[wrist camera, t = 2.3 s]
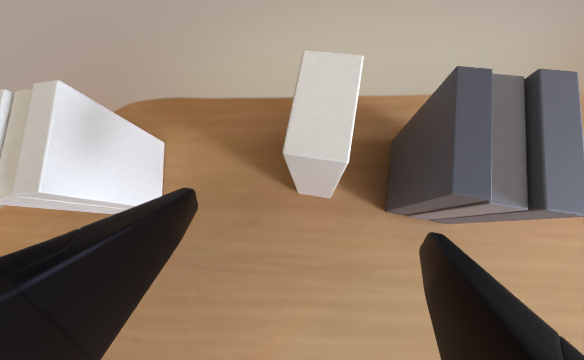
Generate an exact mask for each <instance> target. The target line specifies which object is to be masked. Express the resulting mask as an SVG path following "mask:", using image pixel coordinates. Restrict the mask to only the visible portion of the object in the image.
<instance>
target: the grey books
mask: <svg viewBox="0 0 584 360" xmlns="http://www.w3.org/2000/svg"><path fill="white" fill-rule="evenodd" d="M385 212H389V213H395V214H401V215H406V216H407V217H411V218H417V219H423V220H429V221H434V222H440V223H446V224H457V223H476V222H495V221H514V220H533V219H552V218H571V217H584V141H583V129H582V117H581V106H580V94H579V82H578V73H577V72H572V71H559V70H547V69H538V70H537V71H535V72H534V73H533V74H531V75H530V76H528V77H527V78H526V79H524V77H522V76H512V75H501V74H492V69H484V68H473V67H462V66H461V67H460V66H457V67H456V68H455V69H454V70H453V71H452V73H451V74H450V75H449V76H448V77H447V78H446V79H445V81H444V82H443V83H442V84H441V85H440V86H439V88H438V89H437V90H436V91H435V92H434V93H433V94H432V96H431V97H430V98H429V99H428V100H427V101H426V102H425V104H424V105H423V106H422V107H421V108H420V109H419V110H418V112H417V113H416V114H415V115H414V116H413V117H412V118H411V120H410V121H409V122H408V123H407V124H406V125H405V127H404V128H403V129H402V130H401V131H400V132H399V133H398V135H397V136H396V137H395V138H394V139H393V140H392V148H391V157H390V167H389V177H388V187H387V196H386V206H385Z"/></svg>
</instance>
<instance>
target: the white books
mask: <svg viewBox="0 0 584 360" xmlns="http://www.w3.org/2000/svg"><path fill="white" fill-rule="evenodd" d="M163 165H164V142H162V141H161V140H159V139H157V138H156V137H154V136H152V135H151V134H149V133H147V132H146V131H144V130H142V129H141V128H139V127H137V126H135V125H134V124H132V123H130V122H129V121H127V120H125V119H124V118H122V117H120V116H119V115H117V114H115V113H114V112H112V111H110V110H108V109H107V108H105V107H103V106H102V105H100V104H98V103H97V102H95V101H93V100H92V99H90V98H88V97H86V96H85V95H83V94H81V93H80V92H78V91H77V90H75V89H73V88H71V87H70V86H68V85H66V84H65V83H63V82H61V81H59V80H54V81H47V82H41V83H35V84H34V85H33V89H28V90H21V91H16V92H15V94H14V93H12V92H10V91H8V90H5V89H3V90H0V205H11V206H23V207H34V208H46V209H58V210H70V211H82V212H94V213H105V214H116V213H120V212H122V211H125V210H127V209H130V208H133V207H135V206H138V205H140V204H143V203H145V202H148V201H150V200H153V199H156V198H158V197H161V196H162V188H163Z"/></svg>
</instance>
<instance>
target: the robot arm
mask: <svg viewBox="0 0 584 360" xmlns="http://www.w3.org/2000/svg"><path fill="white" fill-rule="evenodd" d="M197 209H198V203H197V198H196V193H195V191H194V190H193V189H190V188H181V189H179V190H176V191H174V192H171V193H168V194H166V195H163V196H161V197H158V198H156V199H153V200H150V201H148V202H145V203H143V204H140V205H138V206H135V207H133V208H130V209H127V210H125V211H122V212H120V213H117V214H115V215H112V216H109V217H107V218H104V219H102V220H99V221H97V222H94V223H92V224H89V225H86V226H84V227H81V228H80V229H76V230H73V231H71V232H68V233H66V234H63V235H61V236H58V237H55V238H53V239H50V240H47V241H45V242H42V243H39V244H36V245H33V246H31V247H28V248H25V249H22V250H19V251H16V252H13V253H10V254H8V255H5V256H2V257H0V360H101V358H102V357H103V355H104V354H105V352H106V351H107V350H108V348H109V347H110V345H111V344H112V342H113V341H114V339H115V338H116V336H117V335H118V333H119V332H120V330H121V329H122V327H123V326H124V324H125V323H126V321H127V320H128V318H129V317H130V315H131V314H132V313H133V311H134V310H135V308H136V307H137V305H138V304H139V302H140V301H141V299H142V298H143V296H144V295H145V293H146V292H147V290H148V289H149V287H150V286H151V284H152V283H153V281H154V280H155V278H156V277H157V276H158V274H159V273H160V271H161V270H162V268H163V267H164V265H165V264H166V262H167V261H168V259H169V258H170V256H171V255H172V253H173V252H174V250H175V249H176V247H177V246H178V244H179V243H180V241H181V239H182V238H183V236H184V234H185V232H186V230H187V228H188V226H189V225H190V223H191V221H192V219H193V217H194V215H195V213H196V211H197ZM419 254H420V262H421V269H422V277H423V284H424V291H425V297H426V301H427V305H428V309H429V313H430V317H431V321H432V325H433V329H434V333H435V337H436V341H437V345H438V349H439V353H440V357H441V360H584V355H583V354H581V353H580V352H579V351H578V350H577V349H576V348H574V347H573V346H572V345H571V344H570V343H569V342H568V341H566V340H565V339H564V338H563V337H561V336H559V334H558V333H557V332H556V331H555V330H554V329H552V328H551V327H550V326H549V325H548V324H547V323H545V322H544V321H543V320H542V319H541V318H540V317H538V316H537V315H536V314H535V313H534V312H533V311H531V310H530V309H529V308H528V307H527V306H526V305H525V304H523V303H522V302H521V301H520V300H519V299H518V298H516V297H515V296H514V295H513V294H512V293H511V292H509V291H508V290H507V289H506V288H505V287H504V286H502V285H501V284H500V283H499V282H498V281H497V280H495V279H494V278H493V277H492V276H491V275H490V274H489V273H487V272H486V271H485V270H484V269H483V268H482V267H480V266H479V265H478V264H477V263H476V262H475V261H473V260H472V259H471V258H470V257H469V256H468V255H466V254H465V253H464V252H463V251H462V250H461V249H460V248H458V247H457V246H456V245H455V244H454V243H453V242H451V241H450V240H449V239H448V238H447V237H446V236H444V235H443V234H439V233H433V232H430V233H429V234H428V235H427V236H426V238H425V240H424V242H423V243H422V245H421V247H420V251H419Z"/></svg>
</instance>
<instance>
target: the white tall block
mask: <svg viewBox="0 0 584 360" xmlns="http://www.w3.org/2000/svg"><path fill="white" fill-rule="evenodd" d="M363 58H364V57H363V55H357V54H345V53H334V52H322V51H311V50H304V51H303V55H302V59H301V64H300V69H299V74H298V79H297V83H296V88H295V93H294V98H293V103H292V108H291V112H290V117H289V122H288V127H287V132H286V136H285V141H284V146H283V151H282V154H283V156H284V159H285V161H286V164H287V166H288V169H289V171H290V174H291V176H292V179H293V181H294V184H295V186H296V189H297V191H298V193H299V194H305V195H311V196H317V197H322V198H328V199H330V198H331V196H332V194H333V192H334V190H335V188H336V186H337V184H338V182H339V180H340V178H341V176H342V174H343V172H344V170H345V168H346V166H347V164H348V163H349V157H350V150H351V142H352V135H353V128H354V121H355V114H356V107H357V100H358V93H359V86H360V79H361V72H362V65H363Z"/></svg>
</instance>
